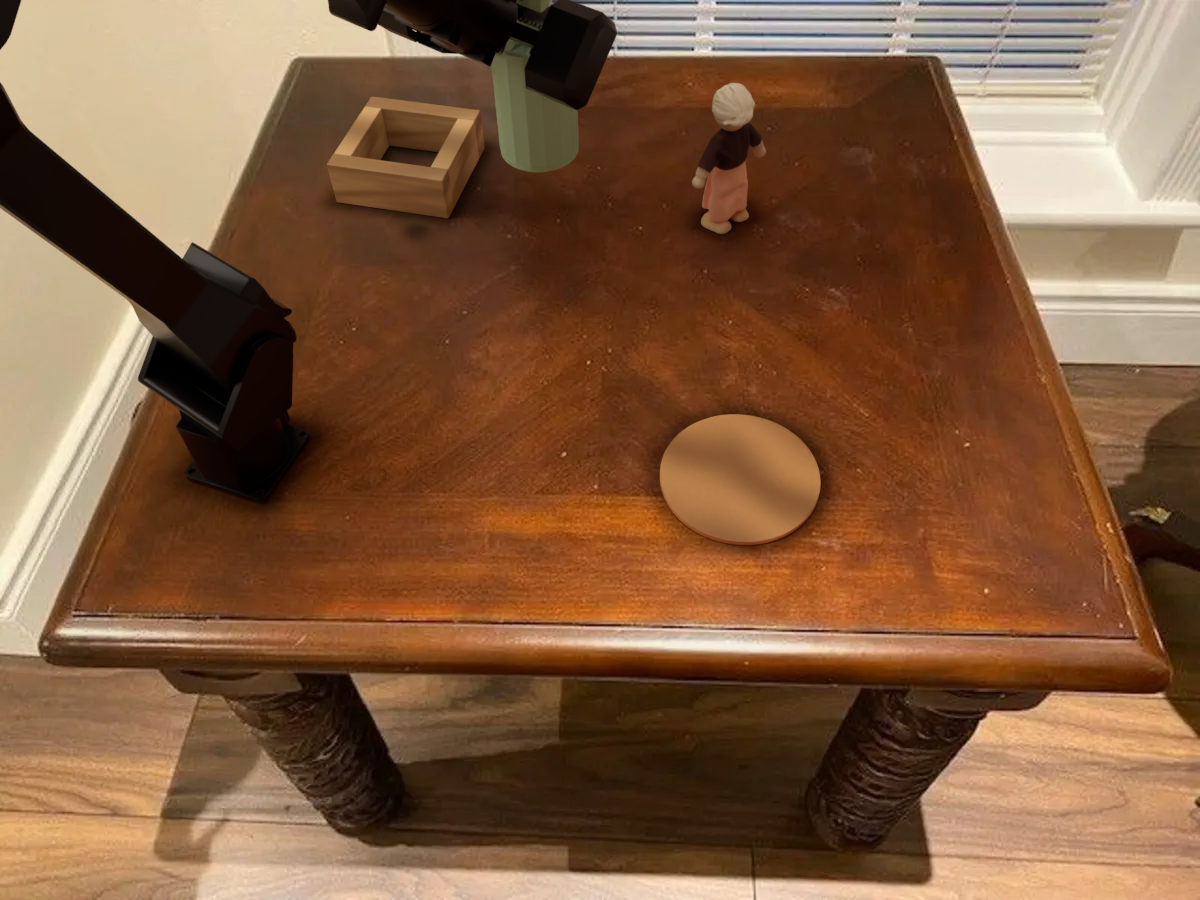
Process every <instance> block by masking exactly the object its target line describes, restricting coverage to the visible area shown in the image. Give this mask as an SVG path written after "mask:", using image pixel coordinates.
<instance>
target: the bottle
mask: <svg viewBox="0 0 1200 900" xmlns="http://www.w3.org/2000/svg"><path fill="white" fill-rule="evenodd" d="M516 3H517V4H519V5H522V6H525V7H527V8H530V9H532V10H535V11H538V12H543V11H544V10H545V9H546V8H547V7H550V6H551V5H552V4H553V0H523V1H520V0H517V2H516ZM517 23H520V24H522V25H525V26H527V27H530V28H532V29H535V30H539V29H537V28H536V27H535V28H534V27H532V26H529V25H528V24H527V23H526V24H524V23H523V21H522V22H519V21H518V20H517ZM530 49H531V47H528V46H526V45H523V44H521V43H518V42H516V41H513V40H511V39H509V40H508V42H507V43H506V47H505V49H504V52H503V53H502V54H497V53H496V54H495V57H494V59H493V61H492V64H491V66H490V68H491V75H492V87H493V96H494V104H495V114H496V122H497V123H496V124H497V133H498V144H499V149H500V154H501V157H502V158H503V160H504V161H505V162H506V163H507V164H508V165H509V166H511V167H513V168H515V169H516V170H518V171H519V170H520V171H523V172H528V173H547V172H553V171H556V170H560V169H562V168H564V167H565V166H568V165H570V163H572V162H573V161H574V160H575V159H576V157H577V155H578V153H579V150H580V140H579V139H580V138H579V137H580V136H579V134H580V133H579V110H575V109H572V108H570V107H567V106H565V105H563V104H560V103H558V102H556V101H553V100H551V99H548V98H546V97H544V96H542V95H540V94H538V93H536V92H533V91H531V90H529V89H526V88H525V87H526V84H525V71H524V69H525V66H526V64H527V61H528V59H529V56H530V54H529V52H530Z"/></svg>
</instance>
